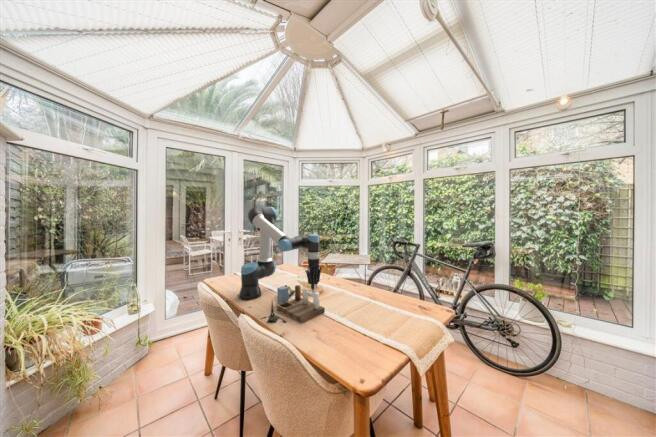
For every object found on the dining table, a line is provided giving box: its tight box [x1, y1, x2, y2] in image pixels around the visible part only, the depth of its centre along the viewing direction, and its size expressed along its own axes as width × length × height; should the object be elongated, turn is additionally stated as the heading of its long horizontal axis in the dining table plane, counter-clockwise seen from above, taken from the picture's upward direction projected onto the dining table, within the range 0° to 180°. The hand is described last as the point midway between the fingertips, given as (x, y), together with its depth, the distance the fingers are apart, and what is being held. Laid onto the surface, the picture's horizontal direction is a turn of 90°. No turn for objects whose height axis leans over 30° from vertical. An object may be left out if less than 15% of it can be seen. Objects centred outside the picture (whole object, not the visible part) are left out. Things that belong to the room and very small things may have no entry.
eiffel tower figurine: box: [259, 300, 288, 324], centre depth 135 cm, size 15×10×13 cm
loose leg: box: [276, 285, 289, 305], centre depth 157 cm, size 5×5×11 cm
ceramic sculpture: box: [284, 284, 295, 298], centre depth 171 cm, size 11×9×15 cm
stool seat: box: [276, 284, 326, 324], centre depth 146 cm, size 24×18×12 cm
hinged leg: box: [302, 287, 320, 309], centre depth 147 cm, size 14×4×9 cm, turn 46°
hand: (314, 293), depth 156 cm, fingers closed
